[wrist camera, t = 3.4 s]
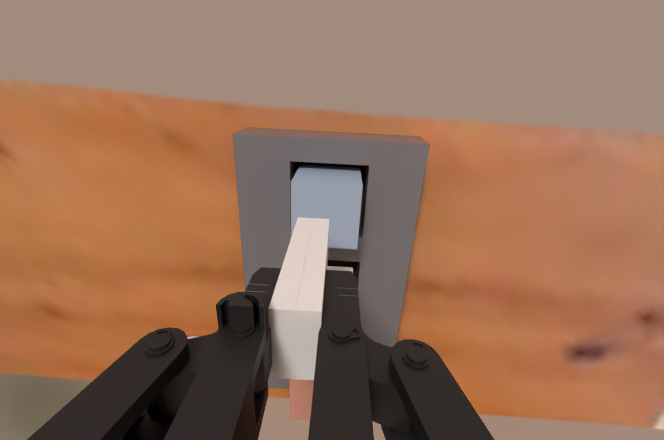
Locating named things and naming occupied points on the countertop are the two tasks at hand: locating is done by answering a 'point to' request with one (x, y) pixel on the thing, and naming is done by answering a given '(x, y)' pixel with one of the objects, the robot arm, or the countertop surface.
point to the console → (376, 218)
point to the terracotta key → (301, 398)
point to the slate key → (329, 201)
